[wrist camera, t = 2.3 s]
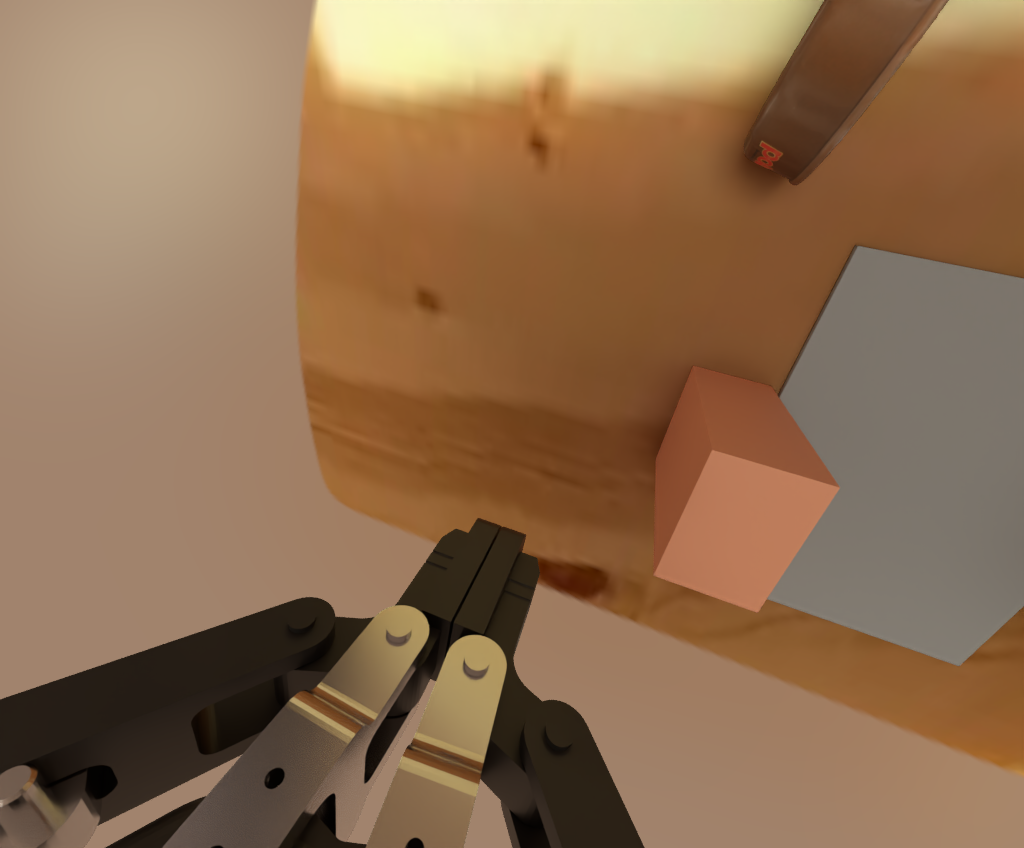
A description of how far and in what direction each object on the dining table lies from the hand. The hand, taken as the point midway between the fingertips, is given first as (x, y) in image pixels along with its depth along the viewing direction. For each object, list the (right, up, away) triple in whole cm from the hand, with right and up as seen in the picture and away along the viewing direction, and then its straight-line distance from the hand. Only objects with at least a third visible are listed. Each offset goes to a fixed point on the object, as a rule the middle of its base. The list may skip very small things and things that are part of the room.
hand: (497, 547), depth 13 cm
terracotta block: (+12, +4, +11) cm, 17 cm away
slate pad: (+21, +1, +9) cm, 23 cm away
